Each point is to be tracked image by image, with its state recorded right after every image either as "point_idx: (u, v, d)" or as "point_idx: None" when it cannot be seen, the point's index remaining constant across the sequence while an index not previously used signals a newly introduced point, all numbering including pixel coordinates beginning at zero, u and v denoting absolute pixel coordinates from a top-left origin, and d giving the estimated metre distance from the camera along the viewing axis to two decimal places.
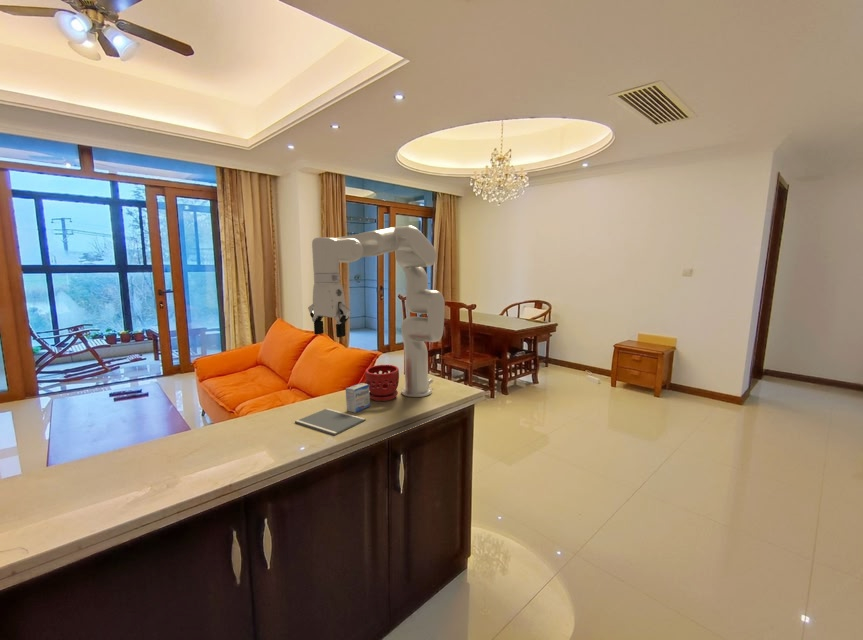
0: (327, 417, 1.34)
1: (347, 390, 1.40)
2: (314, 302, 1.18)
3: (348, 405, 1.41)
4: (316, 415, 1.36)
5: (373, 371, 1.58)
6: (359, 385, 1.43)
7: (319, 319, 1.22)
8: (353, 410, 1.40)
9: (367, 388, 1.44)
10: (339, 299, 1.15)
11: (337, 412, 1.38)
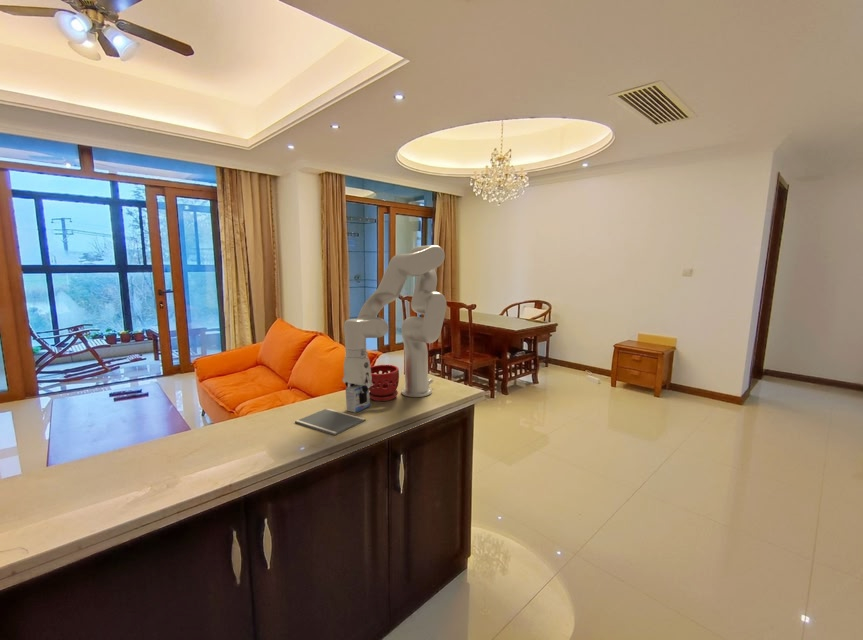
0: (327, 417, 1.34)
1: (347, 390, 1.40)
2: (345, 372, 1.42)
3: (348, 405, 1.41)
4: (316, 415, 1.36)
5: (373, 371, 1.58)
6: None
7: None
8: (353, 410, 1.40)
9: None
10: (366, 370, 1.39)
11: (337, 412, 1.38)
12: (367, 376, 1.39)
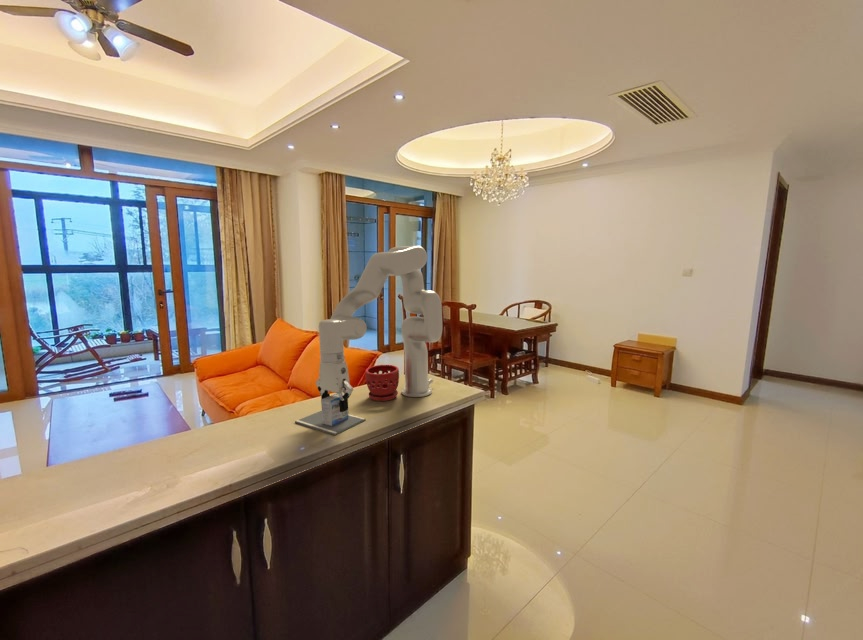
0: None
1: (323, 401, 1.27)
2: (320, 378, 1.29)
3: (324, 418, 1.28)
4: (316, 415, 1.36)
5: (373, 371, 1.58)
6: (336, 395, 1.30)
7: (326, 392, 1.32)
8: (329, 423, 1.26)
9: None
10: (343, 376, 1.25)
11: None
12: (345, 381, 1.25)
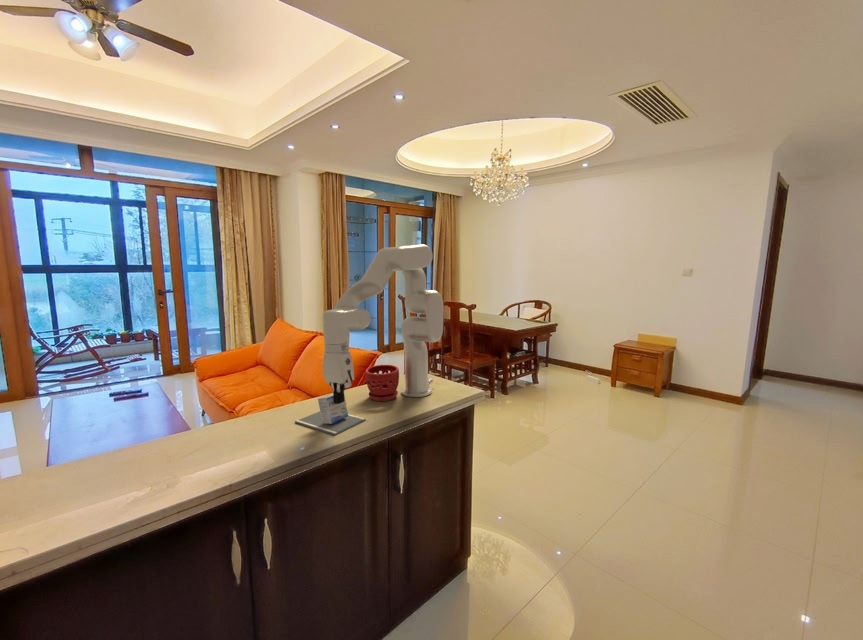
0: None
1: (319, 400, 1.28)
2: (324, 369, 1.27)
3: (323, 417, 1.28)
4: (316, 415, 1.36)
5: (373, 371, 1.58)
6: None
7: None
8: (329, 421, 1.26)
9: None
10: (348, 367, 1.24)
11: None
12: (348, 375, 1.24)
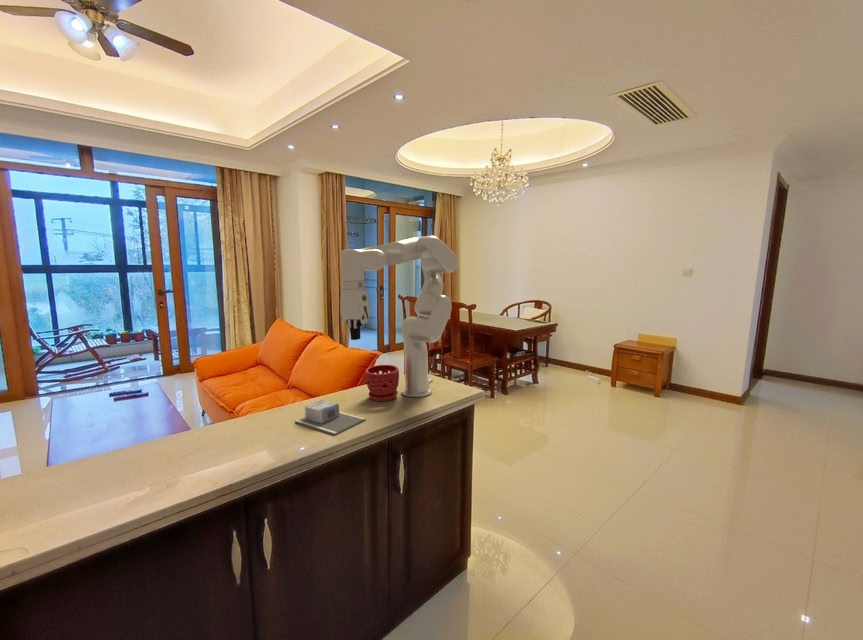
0: None
1: (306, 416, 1.33)
2: (341, 307, 1.33)
3: (317, 419, 1.29)
4: None
5: (373, 371, 1.58)
6: None
7: None
8: (320, 413, 1.28)
9: (322, 401, 1.38)
10: (364, 304, 1.30)
11: None
12: (364, 311, 1.31)
